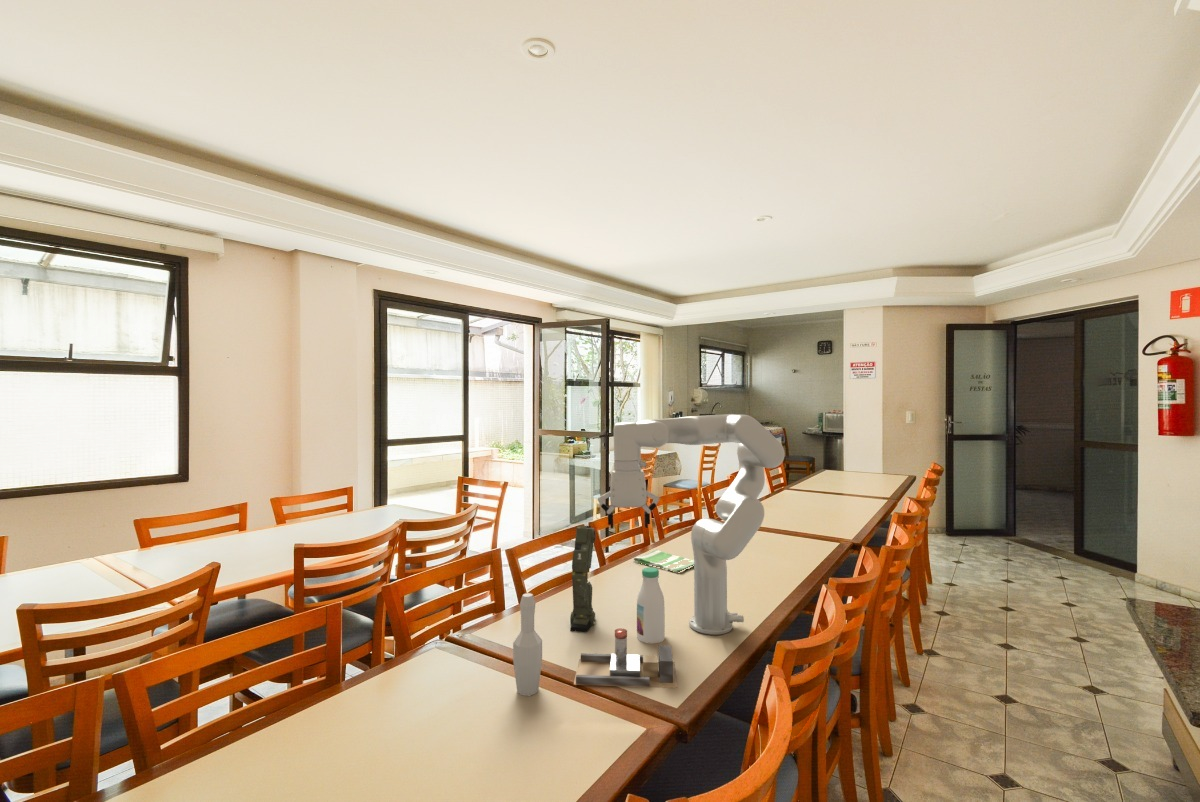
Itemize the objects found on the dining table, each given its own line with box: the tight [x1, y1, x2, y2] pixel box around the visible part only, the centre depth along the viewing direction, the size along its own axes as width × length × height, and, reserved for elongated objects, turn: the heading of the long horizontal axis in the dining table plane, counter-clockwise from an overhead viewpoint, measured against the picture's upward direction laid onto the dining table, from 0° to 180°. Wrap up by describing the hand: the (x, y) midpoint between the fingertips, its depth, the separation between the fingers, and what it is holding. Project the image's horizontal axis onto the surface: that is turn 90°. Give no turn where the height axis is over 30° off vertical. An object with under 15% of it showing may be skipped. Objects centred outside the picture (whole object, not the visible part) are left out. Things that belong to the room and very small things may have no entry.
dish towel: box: [633, 549, 694, 573], centre depth 219 cm, size 18×23×3 cm
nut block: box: [642, 654, 659, 677], centre depth 127 cm, size 4×4×4 cm
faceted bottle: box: [512, 592, 543, 697], centre depth 122 cm, size 6×6×22 cm
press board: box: [573, 644, 679, 689], centre depth 127 cm, size 24×12×6 cm, turn 86°
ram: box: [610, 627, 641, 677], centre depth 127 cm, size 7×8×10 cm
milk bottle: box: [636, 566, 666, 644], centre depth 147 cm, size 8×8×20 cm
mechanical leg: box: [569, 525, 597, 633], centre depth 160 cm, size 14×7×30 cm, turn 168°
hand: (629, 527), depth 148 cm, fingers open, 9 cm apart
